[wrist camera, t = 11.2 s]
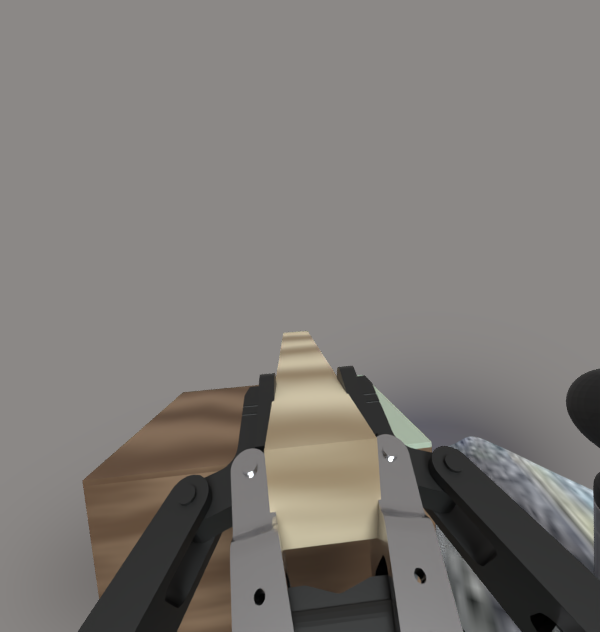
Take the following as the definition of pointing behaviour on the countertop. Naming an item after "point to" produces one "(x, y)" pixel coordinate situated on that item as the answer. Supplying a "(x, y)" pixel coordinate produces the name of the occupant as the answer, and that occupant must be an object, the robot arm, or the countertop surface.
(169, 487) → the walnut stand
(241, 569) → the robot arm
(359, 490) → the beech baton
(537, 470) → the countertop surface
